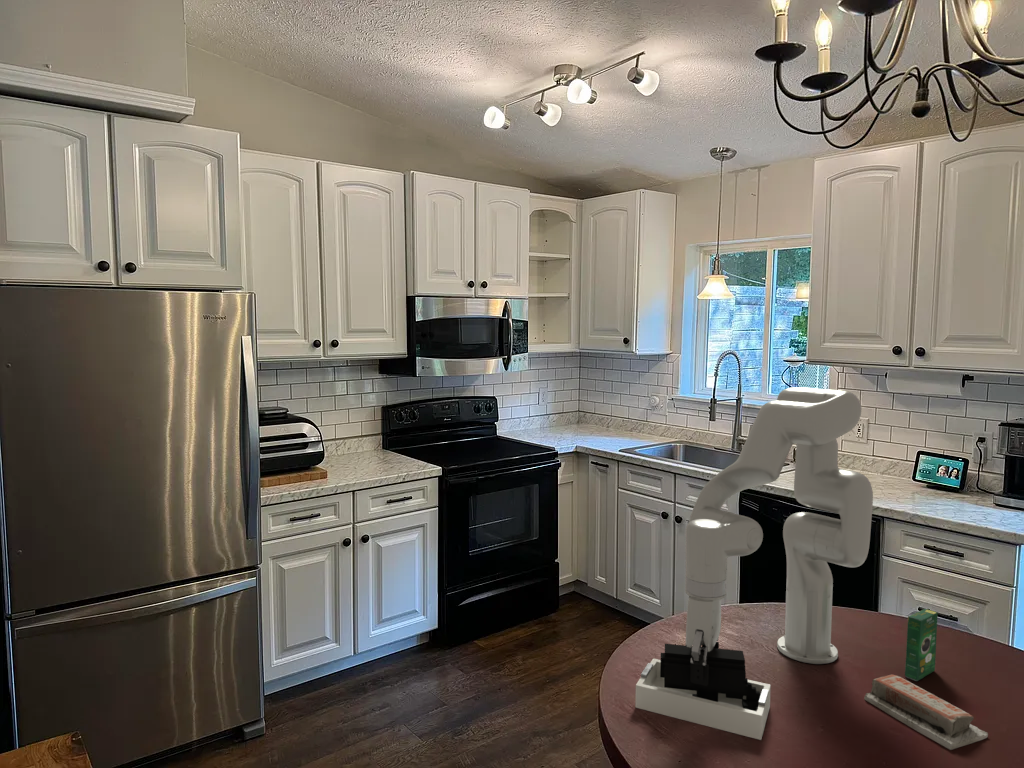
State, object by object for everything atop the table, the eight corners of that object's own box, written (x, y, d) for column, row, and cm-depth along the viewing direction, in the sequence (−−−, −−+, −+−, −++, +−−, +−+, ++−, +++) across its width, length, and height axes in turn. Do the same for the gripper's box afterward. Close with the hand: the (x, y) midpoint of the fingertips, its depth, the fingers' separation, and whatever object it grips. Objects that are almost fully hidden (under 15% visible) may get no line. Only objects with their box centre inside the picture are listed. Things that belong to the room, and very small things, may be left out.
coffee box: (921, 665, 148) (924, 606, 147) (936, 671, 146) (939, 611, 145) (903, 676, 144) (906, 616, 143) (918, 682, 141) (921, 620, 140)
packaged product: (863, 677, 135) (899, 668, 138) (862, 701, 135) (898, 691, 139) (952, 726, 118) (990, 714, 122) (950, 753, 118) (988, 740, 122)
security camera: (762, 718, 127) (763, 665, 126) (659, 706, 131) (660, 655, 130) (757, 698, 133) (758, 648, 133) (660, 688, 137) (660, 639, 137)
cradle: (652, 679, 143) (653, 655, 142) (770, 707, 132) (770, 681, 132) (635, 707, 132) (635, 681, 132) (761, 740, 122) (762, 712, 121)
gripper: (695, 567, 140) (695, 648, 141) (674, 598, 124) (674, 688, 126) (734, 573, 136) (733, 656, 138) (716, 606, 121) (715, 698, 122)
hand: (704, 671), depth 132 cm, fingers open, 9 cm apart
